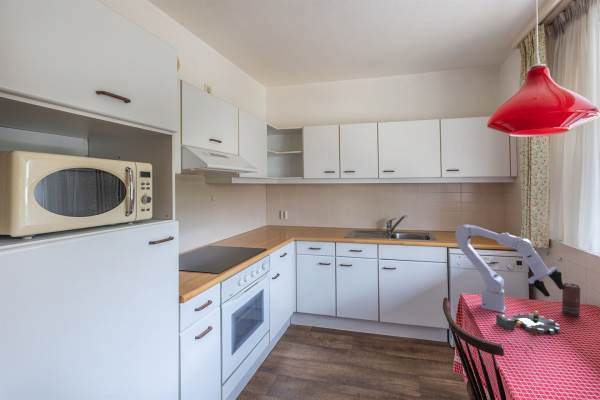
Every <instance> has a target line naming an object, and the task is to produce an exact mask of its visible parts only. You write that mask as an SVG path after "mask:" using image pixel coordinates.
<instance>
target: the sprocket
mask: <svg viewBox="0 0 600 400" xmlns="http://www.w3.org/2000/svg"><path fill="white" fill-rule="evenodd" d="M512 319H513V320H514V321H515V326H517V327H518V328H523V329H525V330H526V331H529V332H531V327H535V328H538V331H537V334H542V335H544V334H548V335H555V333H558V334H560V332H561V327H560V326H561V325H560V324H559V323H557V322H556V323H555V320H553V319H549V318H546V317H545V316H543V315H540V313H539V311H538V310H533V313H528V314H526V313H525V314H524V313H523V312H521V313H519V312H518V314H513V315H512Z"/></svg>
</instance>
